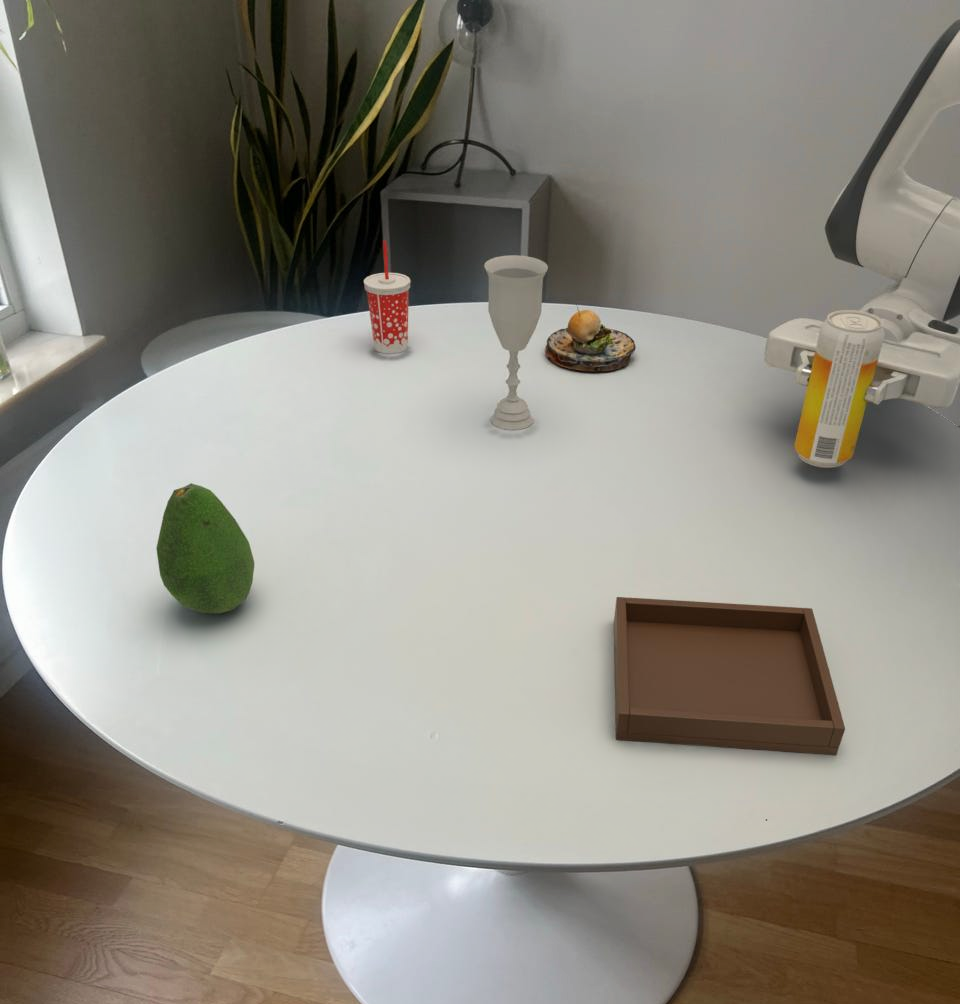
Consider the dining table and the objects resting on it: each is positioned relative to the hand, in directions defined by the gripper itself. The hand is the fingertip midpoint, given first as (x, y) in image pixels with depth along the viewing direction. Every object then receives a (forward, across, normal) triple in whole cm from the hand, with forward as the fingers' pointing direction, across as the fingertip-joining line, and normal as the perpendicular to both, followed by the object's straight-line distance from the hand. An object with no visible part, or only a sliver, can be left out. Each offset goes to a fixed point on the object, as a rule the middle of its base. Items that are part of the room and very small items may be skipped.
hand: (836, 387), depth 98 cm
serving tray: (+37, +6, +10) cm, 39 cm away
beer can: (-1, 0, +8) cm, 9 cm away
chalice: (+9, -34, +10) cm, 37 cm away
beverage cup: (0, -60, +10) cm, 61 cm away
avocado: (+54, -35, +10) cm, 66 cm away
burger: (-13, -36, +10) cm, 40 cm away
